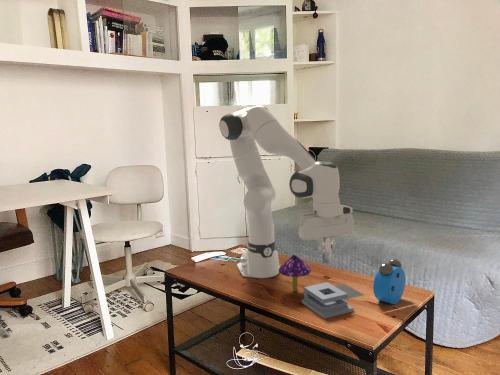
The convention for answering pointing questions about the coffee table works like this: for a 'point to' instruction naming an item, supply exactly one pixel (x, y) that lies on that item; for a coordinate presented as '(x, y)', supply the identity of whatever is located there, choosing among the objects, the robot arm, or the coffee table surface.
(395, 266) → the alarm clock
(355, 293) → the rubber mat
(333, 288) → the grey block with hole
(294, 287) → the decorative mushroom
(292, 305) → the coffee table surface
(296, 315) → the coffee table surface
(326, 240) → the steel pin
